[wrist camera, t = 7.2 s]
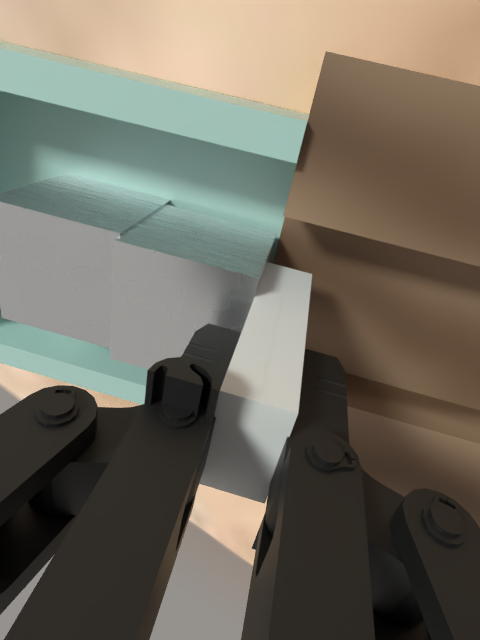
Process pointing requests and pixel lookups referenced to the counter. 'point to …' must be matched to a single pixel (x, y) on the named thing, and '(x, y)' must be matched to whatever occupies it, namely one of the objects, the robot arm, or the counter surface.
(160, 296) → the grey wood-grain cube
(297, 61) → the counter surface
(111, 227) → the grey cube-shaped block
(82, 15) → the counter surface
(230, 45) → the counter surface
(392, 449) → the slot board
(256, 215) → the tray
